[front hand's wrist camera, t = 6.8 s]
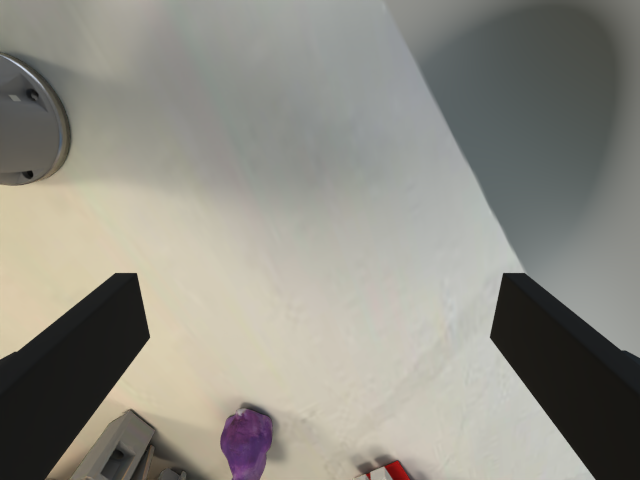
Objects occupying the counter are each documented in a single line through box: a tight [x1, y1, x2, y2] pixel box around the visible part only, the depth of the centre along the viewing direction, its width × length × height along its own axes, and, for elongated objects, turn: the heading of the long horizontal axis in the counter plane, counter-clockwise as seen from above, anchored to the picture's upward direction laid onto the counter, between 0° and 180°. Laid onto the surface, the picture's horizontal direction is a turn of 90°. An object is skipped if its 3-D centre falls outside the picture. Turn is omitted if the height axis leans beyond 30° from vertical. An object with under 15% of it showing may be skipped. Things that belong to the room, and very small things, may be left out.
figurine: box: [220, 408, 273, 480], centre depth 53 cm, size 9×10×15 cm
